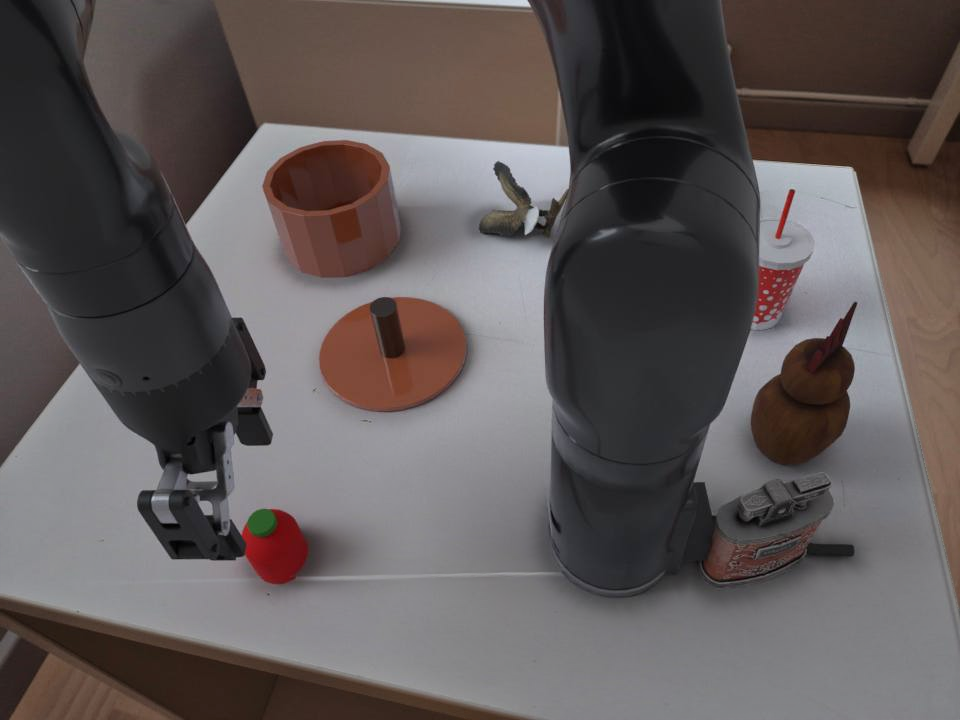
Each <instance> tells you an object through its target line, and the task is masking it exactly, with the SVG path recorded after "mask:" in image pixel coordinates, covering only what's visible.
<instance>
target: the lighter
mask: <svg viewBox="0 0 960 720" xmlns="http://www.w3.org/2000/svg"><path fill="white" fill-rule="evenodd" d="M832 486H833V481H832V479H831V477H830V476H829V475H828V474H827V473H826V472H824V471H818V472H815V473H811V474H808V475H804V476H801V477H797V478H794V479H792V480H788V481H785V482H784V481H783V480H781V479H780V478H779V479H778V478H776V479H775V478H774V479H773V480H769V481H767V482H765V483H764V484H763V485H762V486H760V487H759V488H757V489H755V490H753V491H750V492H747V493H744V494H742V495H740V496H738V497H736V498H734V499H732V500H731V501H729V502H727V503H725V504H724V505H721V506H720V508H718V510H717V512H716V515H715V516H716V518H715V529H714V532H713V534H712V543H713V544H712V547H711V550H710V552H709V555H708V558H707V560H699V562H698V566H697V567H698V570H697V571H698V573H699V576H700V578H701V579H702V580H703V582H704V583H705V584H707V585H708V586H709V587H711V588H713V589H719V590H721V589H722V590H723V589H731V588H740V587H744V586H745V587H746V586H749V585H753V584H758V583H761V582H765V581H768V580H769V579H771V578H774V577H776V576H779V575H781V574H783V573H785V572H787V571H789V570H791V569H793V568H795V566H797V565H799V564H800V563H801V562H803V560H804V558H805V556H806V551H807V549H806V547H807V545H808V544H809V543H811V540H812V539H813V537H814V535H815V534H816V532H817V530H818V528H819V527H820V525H821V523H822V521H823V520H825V519H827V518H828V516H830V514H831V512H832V511H833V509H834V506H835V501H834V497H833V495H832V494H831V492H830V489H831V487H832ZM805 549H806V550H805Z"/></svg>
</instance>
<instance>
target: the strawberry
mask: <svg viewBox="0 0 960 720" xmlns="http://www.w3.org/2000/svg"><path fill="white" fill-rule="evenodd" d="M241 531H242V532H241V536H242V537H243V539H244V541H245V542H246V544H247V546H246V550H245V555H244V556H245V557H246V559H247V560H248V562H249V563H250V565H251V566H252V568H253V569H254V571H255V572H256V574H257V575H258V576H259V577H260V579H261V580H263V581H264V582H266V583H269V584H273V585H279V584H285V583H289V582H290V581H292V580H294V579H296V578H297V576H294V575H296V574H297V573H299V572H300V570H301V569H302V568H303V567H304V565H305V563H306V561H307V559H308V555H309V545H308V542H307V540H306V537H305V536H304V533H303V532H302V530H301V528H300V526H299V524H298V522H297V521H296V519H295V518H294V516H292V515H291V514H290V513H288V512H286V511H284V510H281V509H277V508H269V509H268V508H260V509H257V510H255V511H254V512H252V513H251V514H250V516H249V517H248V519H247V522H246V523H245V525H244V527H243V529H242V530H241Z"/></svg>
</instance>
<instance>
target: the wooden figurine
mask: <svg viewBox="0 0 960 720" xmlns="http://www.w3.org/2000/svg"><path fill="white" fill-rule="evenodd" d="M857 305H858V302H857V301H854V302H852V304H851V306H850V307H849V309H848V311H847V312H846V314H845V316H844V317H840V318H839V319H838V321H837V323H836V324H835V326H834V327H833V329H832V330H831V333H830V334H829V335H827V336H826V337H825V338H823V337H812V338H808V339H804V340H802V341H800V342H799V343H797V344H795V345H794V346H793V347H792V349H791V350H789V351H788V353H787V354H786V355H785V357H784V359H783V360H782V364H781V368H780V373H779V374H776V375H775V376H773V377H772V378H771V379H770V380H768V381H767V382H766V383H765V384H764V385H763V386H762V387H760V389H759V390H758V392H757V393H756V395H755V398H754V401H753V403H752V409H751V414H750V423H749V424H750V430H751V434H752V437H753V440H754V443H755V445H756V448H757V449H758V450H759V451H760V452H761V454H762V455H763V456H764V457H765V458H767V459H768V460H770V461H771V462H773V463H775V464H779V465H782V466H796V465H800V464H804V463H807V462H809V461H811V460H812V459H813V458H816V457H817V456H819V455H820V454H822V453H823V452H824V451H825V450H826V449H828V448H829V447H830V446H831V445H833V444H834V443H835V442H836V441H837V440H838V439H839V438H840V437H841V436H842V435H843V434H844V431H845V429H846V428H847V424H848V420H849V415H850V411H851V410H850V409H851V399H850V396H849V392H848V390H849V388H850V387H851V385H852V383H853V380H854V377H855V372H856V367H855V364H856V363H855V362H854V358H853V356H852V354H851V352H850V351H848V349H847V348H846V347H845V346H844V342H845V341H846V337H847V334H848V331H849V328H850V326H851V324H852V320H853V317H854V315H855V312H856V309H857Z"/></svg>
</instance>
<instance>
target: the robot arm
mask: <svg viewBox="0 0 960 720" xmlns="http://www.w3.org/2000/svg"><path fill="white" fill-rule="evenodd" d="M96 1H97V0H0V238H1V240H2V242H3V244H4V246H5V247H6V249H7V251H8V252H9V254H10V255H11V257H12V258H13V260H14V261H15V263H16V264H17V265H18V267H19V268H20V270H21V271H22V273H23V274H24V276H25V277H26V278H27V280H28V281H29V283H30V284H31V285H32V287H33V289H34V290H35V291H36V293H37V294H38V295H39V297H40V299H41V300H42V301H43V303H44V305H45V306H46V308H47V310H48V312H49V314H50V316H51V318H52V320H53V323H54V325H55V327H56V330H57V331H58V333H59V335H60V337H61V338H62V340H63V342H64V343H65V344H66V346H67V347H68V349H69V350H70V352H71V353H72V355H73V356H74V357H75V359H76V360H77V362H78V363H79V364H80V366H81V368H82V369H83V370H84V372H85V373H86V374H87V376H88V378H89V379H90V381H91V382H92V383H93V385H94V386H95V387H96V389H97V391H98V392H99V394H100V395H101V396H102V398H103V399H104V400H105V402H106V403H107V404H108V406H109V407H110V409H111V410H112V412H113V413H114V414H115V416H116V417H117V419H118V420H119V422H120V423H121V424H122V425H123V426H124V427H126V428H127V430H129V431H131V432H133V433H134V434H136V435H137V436H139V437H141V438H142V439H145V440H146V441H147V442H149V443H150V444H152V445H153V446H154V448H155V452H156V455H157V460H158V464H159V466H160V468H161V470H163V471H162V474H161V477H160V479H159V482H158V485H157V487H156V489H143V490H141V491H140V492H139V493H138V496H137V501H136V508H137V511H138V513H139V514H140V515H141V517H142V518H143V520H144V521H145V522H146V524H147V526H148V527H149V529H150V530H151V532H152V533H153V535H154V536H155V538H156V539H157V540H158V542H159V543H160V545H161V546H162V548H163V549H164V551H165V552H166V553H167V555H168V556H169V558H170V559H171V560H174V561H175V560H209V561H213V562H214V561H215V562H216V561H217V562H218V561H220V562H221V561H226V562H227V561H231V562H233V561H236V560H237V558H243V557H244V556H245V550H246V546H247V544H246V542H245V541H244V539H243V537H242V536H241V535H242V533H240V531H239V529H238V528H237V526H236V524H235V523H234V521H233V519H231V517H230V516H231V515H230V507H229V498H228V497H229V496H230V495H231V494H232V493H233V492H234V491H235V488H236V487H235V486H236V485H235V476H234V474H235V473H234V464H233V456H232V448H233V447H234V445H235V435H236V437H237V438H238V441H239V442H240V444H242V445H244V446H247V447H259V446H262V447H264V446H265V447H266V446H270V445H271V444H272V441H273V437H274V433H273V431H272V430H273V429H271V425H270V424H269V422H268V420H267V417H266V415H265V413H264V411H263V408H262V405H263V401H264V395H263V391H262V389H261V388H258V381H264V380H265V379H266V375H267V369H266V365H265V362H264V361H263V359H262V356H261V354H260V352H259V350H258V348H257V346H256V344H255V342H254V339H253V338H252V335H251V333H250V331H249V328H248V327H247V325H246V322H245V320H244V318H243V317H233V316H232V314H231V312H230V310H229V308H228V305H227V303H226V300H225V298H224V296H223V294H222V291H221V288H220V286H219V284H218V282H217V279H216V278H215V276H214V274H213V272H212V270H211V268H210V265H209V264H208V263H207V261H206V259H205V258H204V256H203V254H201V252H200V250H199V249H198V248H197V246H196V244H195V243H194V240H193V238H192V236H191V233H190V232H189V229H188V226H187V224H186V222H185V219H184V218H183V215H182V213H181V211H180V208H179V206H178V204H177V201H176V199H175V197H174V195H173V193H172V191H171V189H170V186H169V183H168V182H167V180H166V178H165V176H164V174H163V172H162V170H161V169H160V167H159V165H158V163H157V162H156V160H155V159H154V157H153V156H152V154H151V153H150V152H149V151H148V150H147V148H145V146H144V145H143V144H142V142H141V141H139V140H137V139H136V138H135V137H133V136H132V135H130V134H129V133H128V132H125V131H122V130H120V129H118V128H116V127H112V126H111V124H110V122H109V121H108V118H107V117H106V115H105V114H104V111H103V109H102V108H101V106H100V104H99V101H98V98H97V96H96V95H95V92H94V90H93V87H92V83H91V81H90V79H89V75H88V72H87V69H86V66H85V62H84V61H85V56H86V51H87V47H88V42H89V39H90V34H91V30H92V26H93V22H94V16H95V10H96V9H95V8H96V3H97V2H96ZM526 1H527V2H528V4H529V6H530V8H531V9H532V12H533V14H534V16H535V19H537V22H538V25H539V26H540V30H541V32H542V34H543V37H544V40H545V44H546V46H547V48H548V52H549V55H550V56H549V57H550V59H551V63H552V66H553V70H554V75H555V78H556V84H557V89H558V92H559V98H560V103H561V108H562V114H563V118H564V125H565V132H566V137H567V143H568V144H567V145H568V154H569V167H570V169H569V170H570V171H569V172H570V173H569V182H568V188H567V189H568V194H567V197H566V200H565V202H564V204H563V207H562V208H563V209H562V212H561V215H560V219H559V221H558V222H559V223H558V226H557V229H556V232H555V236H554V239H553V243H552V246H551V249H550V253H549V257H548V261H547V265H546V270H545V277H544V287H543V289H544V290H543V347H544V349H543V350H544V351H543V352H544V376H545V383H546V386H547V390H548V392H549V395H550V397H551V436H550V440H551V441H550V445H551V446H550V482H549V483H550V488H549V489H550V490H549V493H548V491H546V502H547V503H546V504H547V510H548V518H549V519H548V526H547V531H548V532H547V538H548V539H547V540H548V545H549V548H550V552H551V555H552V556H553V559H554V560H555V562H556V565H558V567H559V568H560V569H561V570H562V571H561V573H562V574H563V575H564V576H565V577H566V578H567V579H568V580H569V581H571V582H572V583H573V584H574V585H576V586H577V587H579V588H581V589H582V590H585V591H587V592H589V593H592V594H594V595H597V596H603V597H610V598H623V597H630V596H635V595H638V594H641V593H643V592H645V591H647V590H649V589H651V588H652V587H653V586H655V585H656V584H657V583H658V582H660V581H661V580H662V578H663V577H666V576H676V575H678V574H679V572H680V569H681V566H682V563H683V561H700V560H707V558H708V555H709V552H710V550H711V547H712V544H713V543H712V534H713V532H714V529H715V518H716V515H714V514H712V509H711V505H710V500H709V496H708V495H709V494H708V492H707V486H706V482H705V481H695V478H696V475H697V473H698V469H699V464H700V461H701V457H702V454H703V451H704V447H705V443H706V440H707V436H708V433H709V430H710V426H711V424H712V423H713V422H714V421H715V420H716V419H717V418H718V416H720V415H721V412H722V411H723V409H724V408H725V405H726V402H727V400H728V397H729V393H730V391H731V389H732V388H731V387H732V385H733V382H734V379H735V377H736V374H737V371H738V369H739V365H740V363H741V359H742V357H743V354H744V352H745V348H746V345H747V341H748V339H749V336H750V332H751V330H752V329H751V326H752V322H753V318H754V314H755V310H756V305H757V299H758V289H759V249H760V218H761V193H760V186H759V181H758V178H757V176H758V175H757V172H756V167H755V164H754V160H753V159H754V158H753V156H752V155H753V154H752V151H751V146H750V143H749V139H748V134H747V129H746V126H745V122H744V118H743V114H742V113H743V112H742V109H741V104H740V101H739V96H738V90H737V86H736V80H735V76H734V75H735V74H734V69H733V64H732V59H731V55H730V49H729V44H728V39H727V33H726V27H725V19H724V14H723V7H722V0H526ZM214 471H215V473H216V481H214V480H212V481H210V480H209V481H208V480H207V481H205V480H204V481H192V480H190V479H189V478H188V475H198V474H204V473H209V472H214ZM200 502H209V503H210V505H211V507H212V514H205V513H204V511H203V510H202V508H201V506H200V505H199V503H200ZM806 549H807V551H806V554H805V556H806V555H807V556H814V557H815V556H816V557H851V558H853V557H855V546H854V545H853V544H851V543H850V544H848V543H847V544H846V543H814V542H809V544H808V545H807V547H806ZM806 549H805V550H806Z"/></svg>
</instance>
